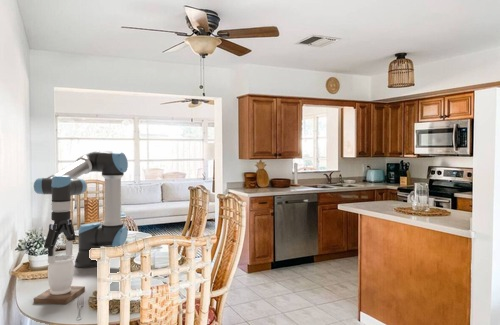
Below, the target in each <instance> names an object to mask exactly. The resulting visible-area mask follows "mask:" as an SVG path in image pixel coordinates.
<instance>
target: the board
mask: <svg viewBox="0 0 500 325" xmlns="http://www.w3.org/2000/svg"><path fill="white" fill-rule="evenodd" d="M70 288H71V291H70V292H68V293H66V294H61V295H52V294H50V291H51V288H50V287H49V289H47V290H45V291H43V292H41V293H40V294H39V295H37V296H35V297H33V304H50V305H67V304H68V303H70V302H71V301H73V300H74V299H76V298H77V297H78V296H80V295H81V294H82V293H84V292H85V291H86V286H84V285H83V286H80V285H71V286H70Z"/></svg>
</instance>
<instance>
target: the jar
mask: <svg viewBox="0 0 500 325" xmlns="http://www.w3.org/2000/svg"><path fill="white" fill-rule="evenodd" d="M74 259H75V257H74V256H73V255H66V254H64V255H57V256H56V255H55V264H50V263H48V266H47V280H48V286H49V289H50V288H51V291H50V294H52V295H61V294H66V293H68V292H70V291H71V288H70V286H72V283H73V278H74V275H75V274H74V272H75V267H74V266H75V264H74V262H73V261H74Z"/></svg>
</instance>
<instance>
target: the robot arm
mask: <svg viewBox="0 0 500 325" xmlns="http://www.w3.org/2000/svg"><path fill="white" fill-rule="evenodd" d="M128 167H129V163H128V158H127V156H126V154H125V153H123V152H122V151H116V150H115V151H112V150H111V151H109V150H108V151H101V150H97V151H91V152H89V153H88V152H87V153H86V154H84V155H81V156H80V157H78V158H77V159H76V160H75V162H73V163H71V164H70V165H68V166H65V167H64V168H62V169H61V170H58V171H57V172H55V173H53V174H52V175H49V176H48V177H45V178H44V177H40V178H36V179H35V180H34V182H33V190H34V192H35V193H36V194H39V195H51V204H50V205H51V211H52V212H51V213H50V214H51V218H50V219H51V221H53V222H54V223H52V224H51V223H50V224H49V225H48V232H47V235H46V239H45V242H44V246H43V247H44V249H47V264H49V263H50V264H55V256H56V247H55V246H56V244H57V241H58V239H59V237H60V235H62V233H63V235H64V237H65V238H66V240H65V255H70V256H73V241H75V240H76V233H75V228H74V226H73V220H72V219H71V218H72V217H71V213H72V212H71V211H70V210H72V208H71V207H72V206H71V205H72V204H71V203H72V202H71V197H72V196H79V195H81V194H84V193H85V192H86V190H87V188H88V186H87V183H86V181H85V179H82V178H79V177H81V176H82V175H84V174H85V175H87V174H89V173H93V172H94V173H95V172H96V173H99V172H100V173H101V176H102V177H103V179H104V221H103V222H102V223H101V222H92V223H91V222H90V223H86V224H82V225H80V226H79V227H78V233H77V234H78V252H77V255H76V258H75V261H74V266H75V267H76V268H84V269H86V268H95V267H98V266H97V261H96V260H91V259H90V258H89V250H90V249H91V248H101V247H103V248H104V247H107V248H108V247H109V248H116V247H115V246H120V245H122V246H124V244H125V243H126V241H127V238H128V233H129V232H128V231H129V230H128V227H127V226H125V225H124V221H123V220H122V211H121V210H122V205H121V204H122V178H123V177H124V176H125V175H124V174H125V173H126V172H127V170H128ZM101 249H102V248H101Z"/></svg>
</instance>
